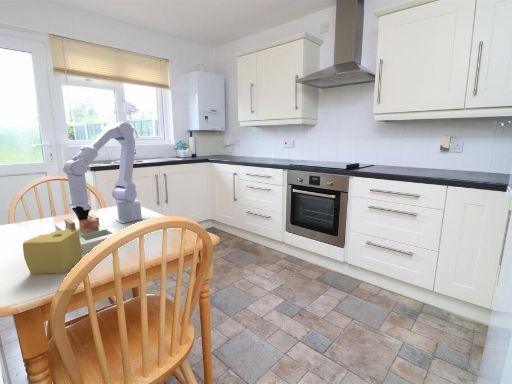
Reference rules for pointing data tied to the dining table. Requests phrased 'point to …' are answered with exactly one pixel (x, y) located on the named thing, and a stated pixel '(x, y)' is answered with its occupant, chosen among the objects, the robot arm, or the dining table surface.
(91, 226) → the block
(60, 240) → the cheese
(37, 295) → the dining table surface
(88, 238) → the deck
